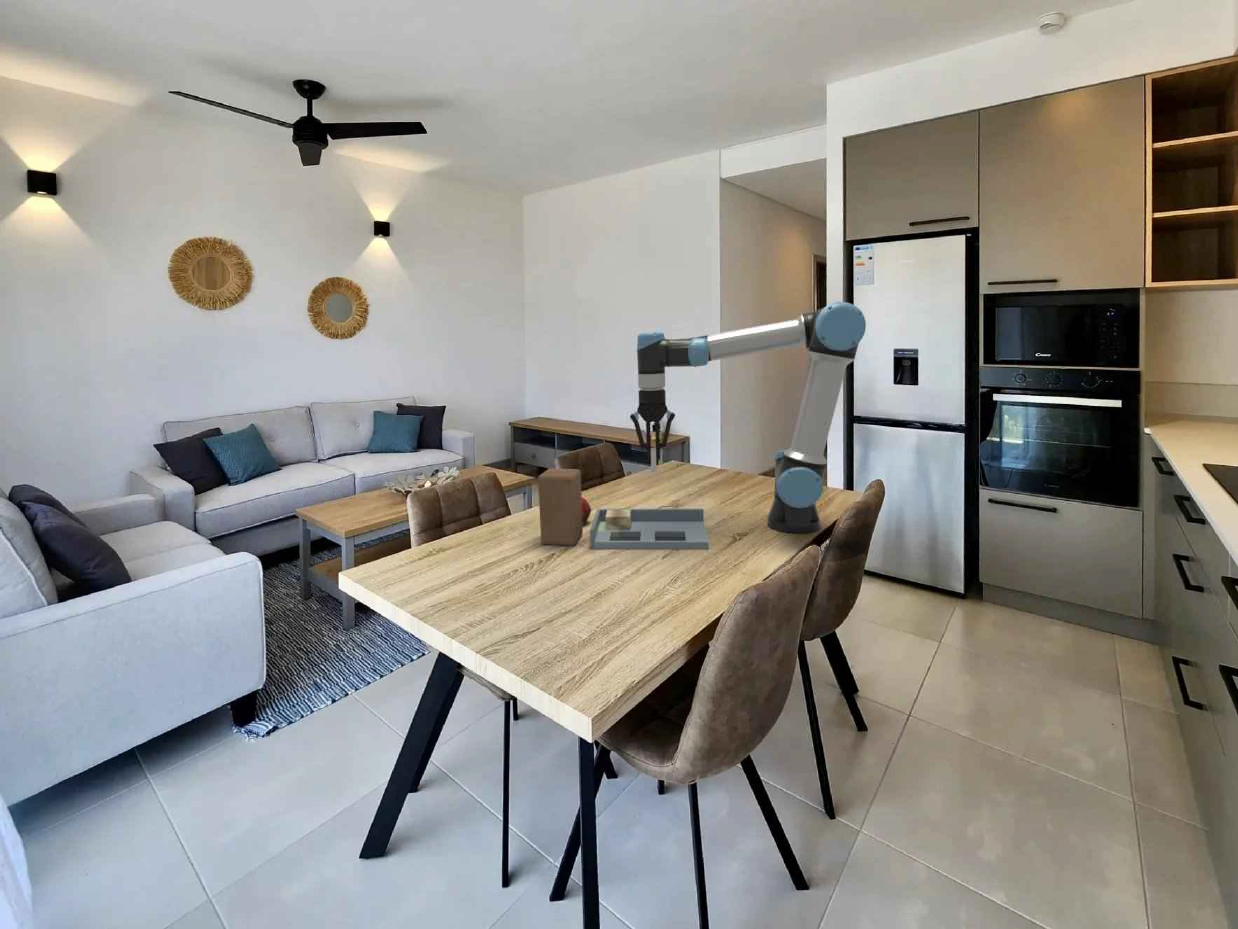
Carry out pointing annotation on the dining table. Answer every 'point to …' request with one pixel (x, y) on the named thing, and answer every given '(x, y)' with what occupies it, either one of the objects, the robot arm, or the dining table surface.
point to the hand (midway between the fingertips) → (653, 471)
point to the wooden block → (560, 506)
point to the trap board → (652, 530)
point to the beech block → (618, 519)
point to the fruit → (585, 510)
